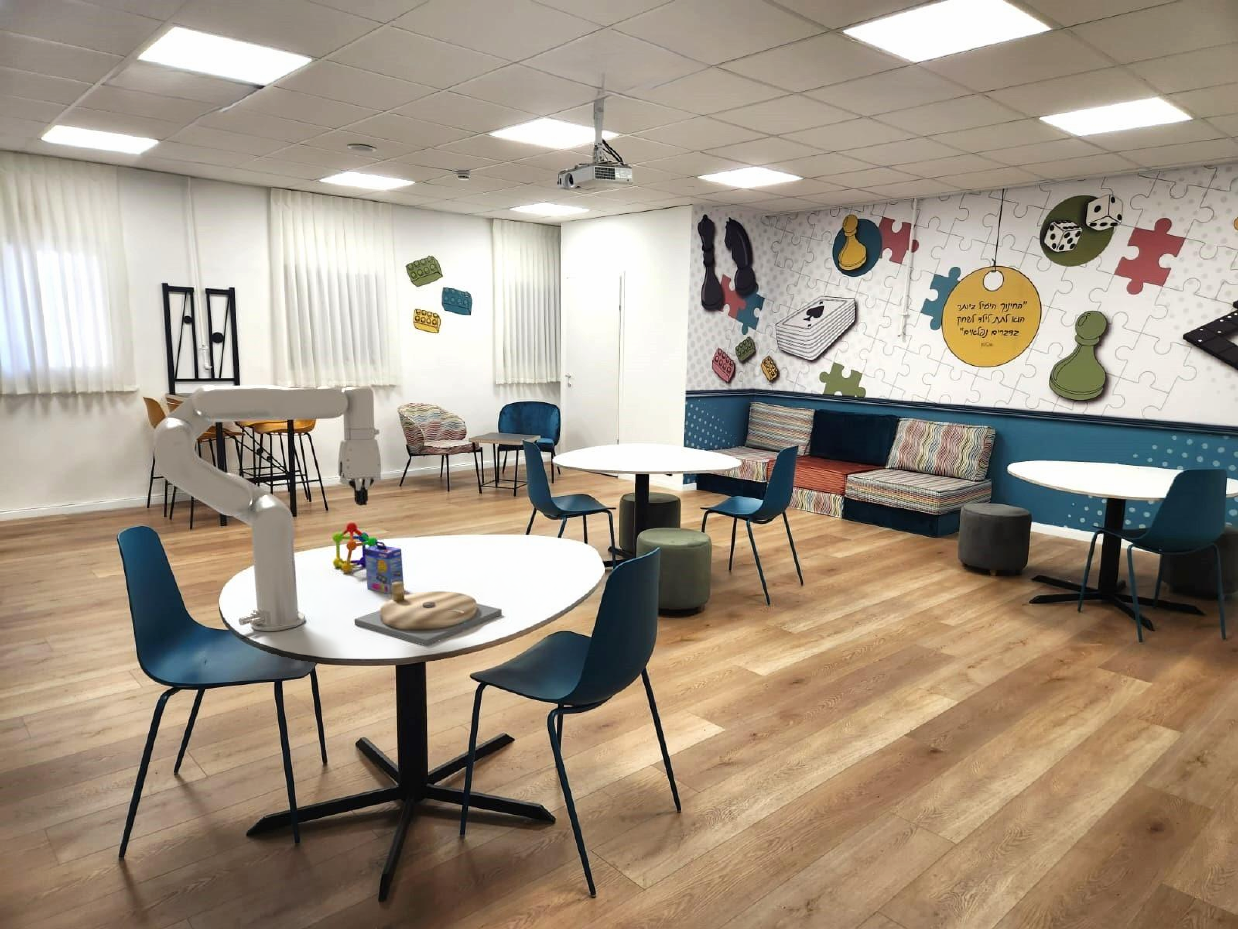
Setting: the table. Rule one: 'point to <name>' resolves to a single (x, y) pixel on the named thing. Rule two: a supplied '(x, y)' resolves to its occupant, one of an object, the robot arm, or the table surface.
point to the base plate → (430, 635)
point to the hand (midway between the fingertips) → (361, 504)
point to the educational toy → (351, 547)
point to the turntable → (426, 609)
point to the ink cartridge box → (383, 567)
